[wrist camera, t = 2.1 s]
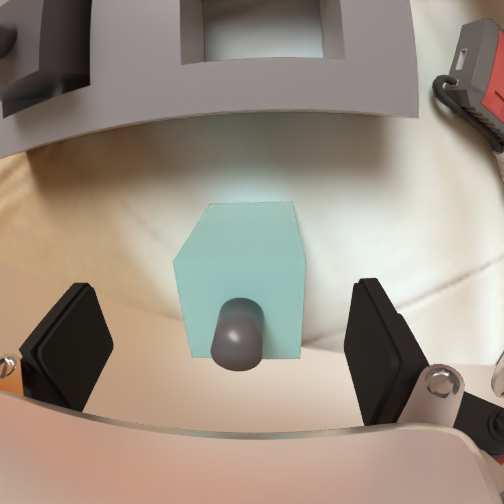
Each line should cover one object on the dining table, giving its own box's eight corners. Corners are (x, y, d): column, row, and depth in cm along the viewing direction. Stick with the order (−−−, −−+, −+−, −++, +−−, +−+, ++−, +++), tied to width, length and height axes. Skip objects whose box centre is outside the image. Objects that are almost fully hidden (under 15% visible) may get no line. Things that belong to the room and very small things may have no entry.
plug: (292, 201, 16) (312, 293, 8) (291, 274, 18) (303, 396, 10) (210, 203, 16) (153, 293, 8) (217, 275, 18) (181, 393, 10)
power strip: (365, -40, 10) (426, -122, 1) (380, 116, 14) (488, 126, 6) (23, 21, 11) (-72, 11, 3) (25, 151, 15) (-78, 189, 7)
